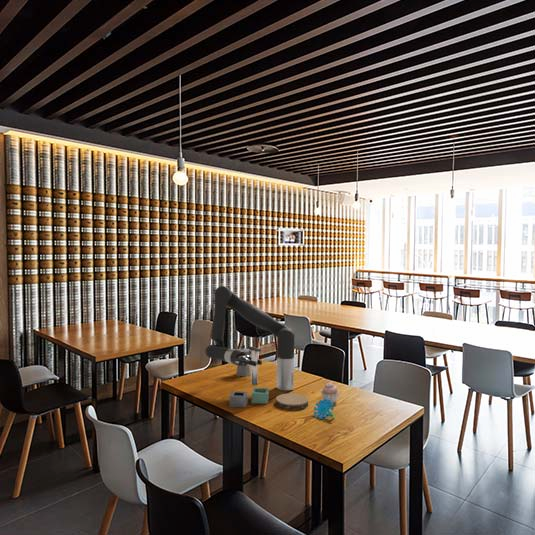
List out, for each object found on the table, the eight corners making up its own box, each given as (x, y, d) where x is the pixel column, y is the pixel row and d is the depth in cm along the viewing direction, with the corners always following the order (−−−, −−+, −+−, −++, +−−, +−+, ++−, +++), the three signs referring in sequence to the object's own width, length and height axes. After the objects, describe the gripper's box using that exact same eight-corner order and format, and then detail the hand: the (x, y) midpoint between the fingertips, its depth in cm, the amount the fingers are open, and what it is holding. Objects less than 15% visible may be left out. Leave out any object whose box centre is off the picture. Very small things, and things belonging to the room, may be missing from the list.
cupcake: (339, 399, 211) (340, 380, 211) (338, 405, 202) (338, 385, 202) (321, 397, 214) (322, 378, 213) (319, 403, 205) (319, 383, 204)
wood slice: (276, 410, 195) (276, 404, 195) (275, 398, 211) (275, 393, 211) (309, 411, 195) (309, 405, 195) (306, 399, 211) (306, 393, 211)
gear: (308, 411, 190) (322, 394, 193) (314, 417, 193) (327, 401, 196) (324, 422, 181) (338, 404, 184) (330, 429, 184) (343, 411, 187)
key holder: (268, 398, 211) (268, 388, 211) (267, 403, 203) (267, 393, 203) (253, 397, 212) (253, 387, 211) (251, 402, 204) (251, 392, 203)
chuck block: (247, 401, 205) (248, 391, 205) (245, 407, 197) (246, 397, 197) (231, 400, 206) (232, 391, 206) (229, 406, 198) (229, 396, 198)
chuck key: (246, 383, 206) (246, 346, 206) (250, 381, 209) (251, 345, 208) (257, 386, 201) (258, 349, 200) (262, 385, 203) (262, 348, 203)
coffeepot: (230, 375, 249) (230, 345, 249) (236, 371, 258) (237, 342, 258) (253, 378, 244) (254, 348, 243) (259, 374, 253) (260, 345, 252)
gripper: (224, 351, 209) (248, 358, 197) (245, 347, 219) (268, 353, 208) (224, 366, 209) (248, 373, 198) (244, 361, 220) (268, 368, 208)
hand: (258, 363), depth 203 cm, fingers closed on chuck key, 3 cm apart
